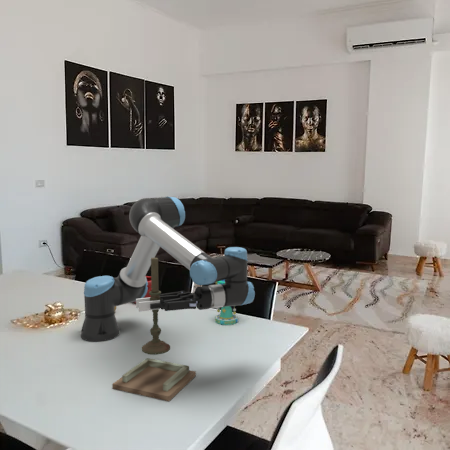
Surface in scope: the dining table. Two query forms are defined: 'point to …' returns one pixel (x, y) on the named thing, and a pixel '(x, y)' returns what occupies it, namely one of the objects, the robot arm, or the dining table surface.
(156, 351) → the candlestick holder
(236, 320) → the decorative hourglass
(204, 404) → the dining table surface
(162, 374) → the railed board
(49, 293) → the dining table surface
